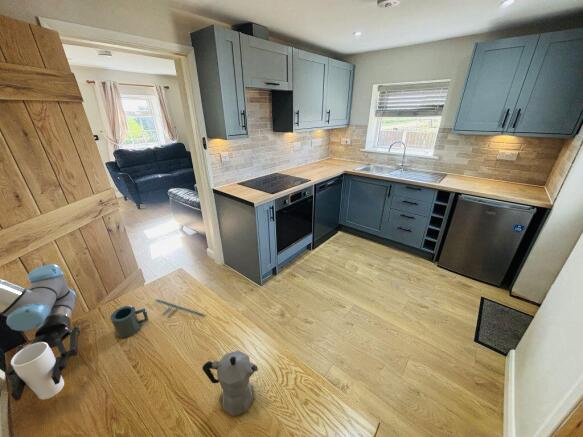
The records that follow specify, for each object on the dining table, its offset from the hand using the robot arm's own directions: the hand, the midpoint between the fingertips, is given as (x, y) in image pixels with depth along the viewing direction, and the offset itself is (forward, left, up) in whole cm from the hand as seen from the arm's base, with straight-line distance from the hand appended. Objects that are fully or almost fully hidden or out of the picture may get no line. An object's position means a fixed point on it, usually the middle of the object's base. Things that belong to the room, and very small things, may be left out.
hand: (36, 388), depth 59 cm
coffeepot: (+42, -21, -15) cm, 49 cm away
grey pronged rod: (+15, +11, -13) cm, 23 cm away
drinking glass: (0, +5, -8) cm, 10 cm away
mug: (+19, +24, -14) cm, 34 cm away
